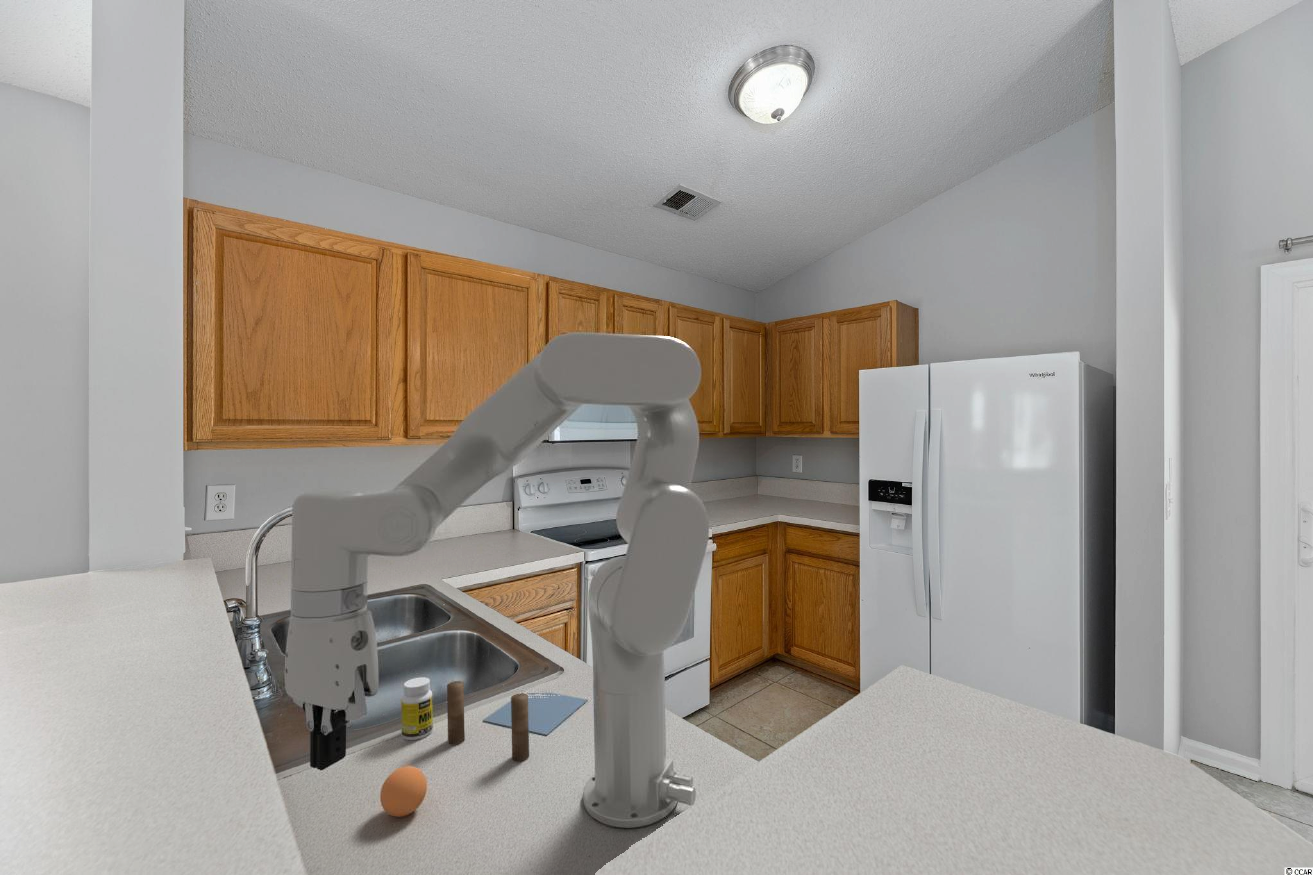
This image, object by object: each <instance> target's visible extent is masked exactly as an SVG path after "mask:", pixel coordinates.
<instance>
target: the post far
mask: <svg viewBox="0 0 1313 875" xmlns="http://www.w3.org/2000/svg"><path fill="white" fill-rule="evenodd" d="M464 690H465V688H464V681H461V680H455V681H451V682H449V683H447V685H446V700H447V701H446V702H447V704H446V705H447V706H446V708H447V709H446V710H447V744H449V745H451V746H456V745H460V744H462V743H464V741H466V740H465V734H466V733H465V732H466V731H465V693H464Z"/></svg>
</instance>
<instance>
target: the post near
mask: <svg viewBox="0 0 1313 875" xmlns="http://www.w3.org/2000/svg"><path fill="white" fill-rule="evenodd" d="M510 697H511V698H510V701H511V723H512V728H511V759H512V760H513V761H514V762H517V763H518V762H524V761H526V760H527V759H529V757H530V732H529V719H528V695H527V694H524V693H523V692H521V693H516V694H513V695H512V696H510Z"/></svg>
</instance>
